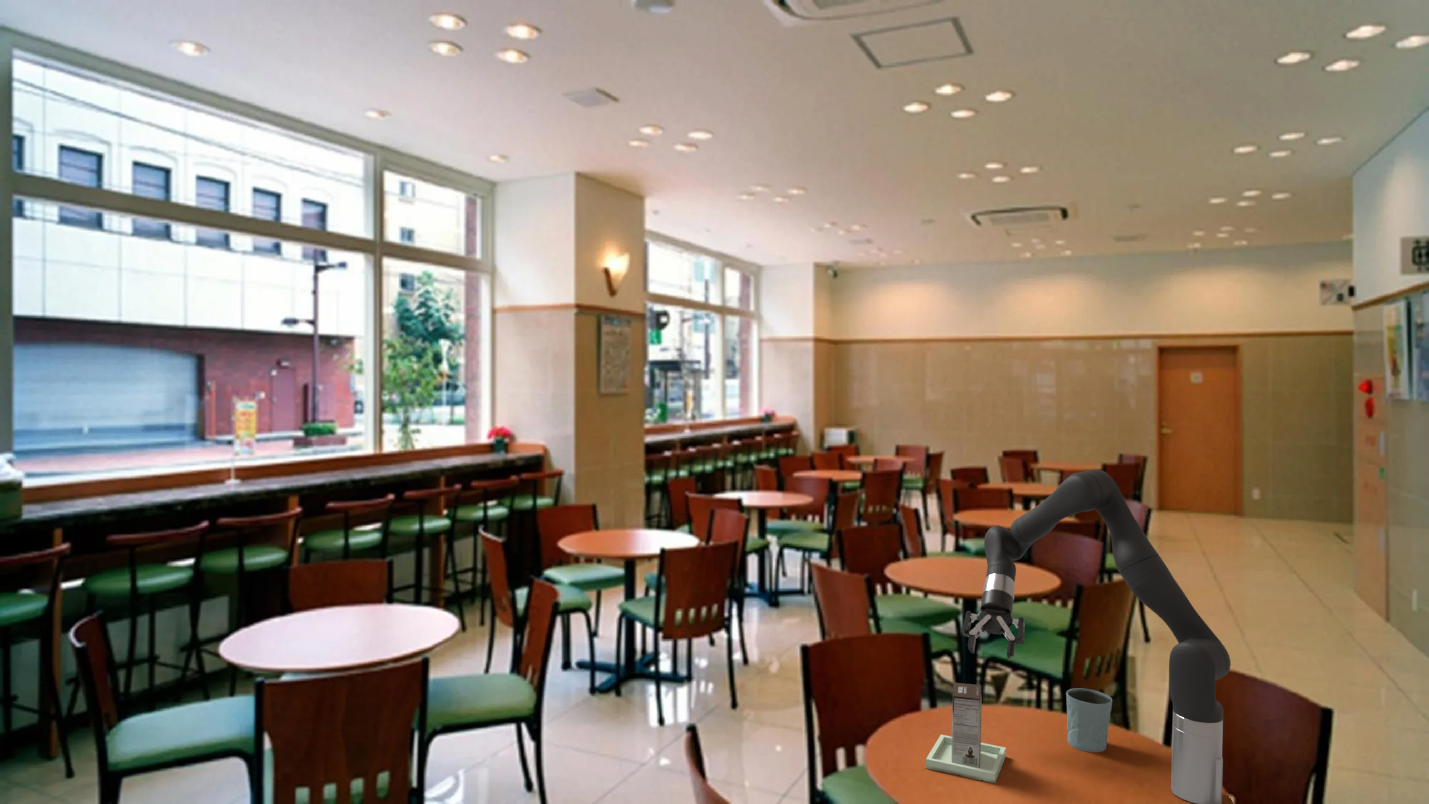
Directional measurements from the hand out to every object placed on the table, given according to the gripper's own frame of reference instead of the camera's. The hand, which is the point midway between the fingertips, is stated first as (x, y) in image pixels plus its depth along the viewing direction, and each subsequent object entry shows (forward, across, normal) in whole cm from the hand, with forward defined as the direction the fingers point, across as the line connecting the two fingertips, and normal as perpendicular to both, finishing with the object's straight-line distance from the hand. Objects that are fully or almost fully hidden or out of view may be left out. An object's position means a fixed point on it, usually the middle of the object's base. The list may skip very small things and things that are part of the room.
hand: (990, 654), depth 203 cm
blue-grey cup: (+8, +21, +24) cm, 33 cm away
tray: (+24, -3, +7) cm, 25 cm away
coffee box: (+24, -3, +6) cm, 25 cm away
